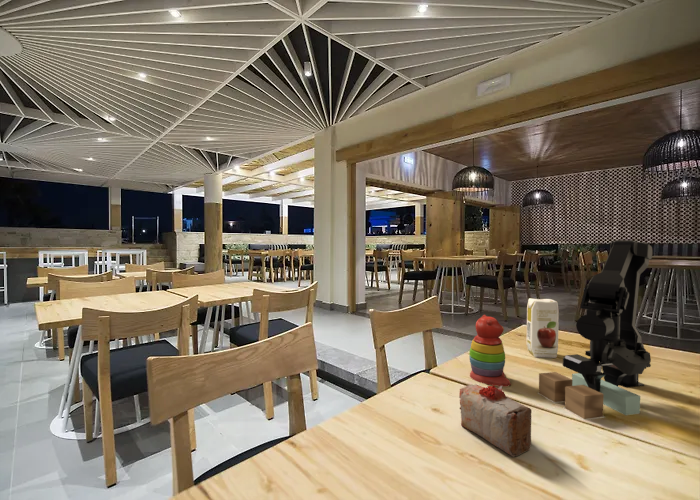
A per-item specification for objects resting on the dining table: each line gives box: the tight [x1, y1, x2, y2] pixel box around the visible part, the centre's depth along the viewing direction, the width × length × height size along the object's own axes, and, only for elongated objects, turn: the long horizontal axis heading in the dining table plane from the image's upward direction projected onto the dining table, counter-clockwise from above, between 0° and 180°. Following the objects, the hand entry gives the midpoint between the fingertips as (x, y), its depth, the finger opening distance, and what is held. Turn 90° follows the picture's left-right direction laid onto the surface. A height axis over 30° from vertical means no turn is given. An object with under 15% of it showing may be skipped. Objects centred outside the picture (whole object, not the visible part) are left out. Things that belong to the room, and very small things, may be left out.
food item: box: [458, 384, 532, 458], centre depth 68 cm, size 14×8×10 cm, turn 28°
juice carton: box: [526, 297, 560, 359], centre depth 118 cm, size 8×9×19 cm
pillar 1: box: [538, 371, 572, 403], centre depth 85 cm, size 5×5×5 cm
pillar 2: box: [564, 385, 604, 420], centre depth 77 cm, size 5×5×5 cm
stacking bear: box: [469, 314, 511, 388], centre depth 96 cm, size 11×10×18 cm
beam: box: [571, 372, 641, 416], centre depth 83 cm, size 14×4×4 cm, turn 12°
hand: (603, 397), depth 83 cm, fingers closed on beam, 4 cm apart
